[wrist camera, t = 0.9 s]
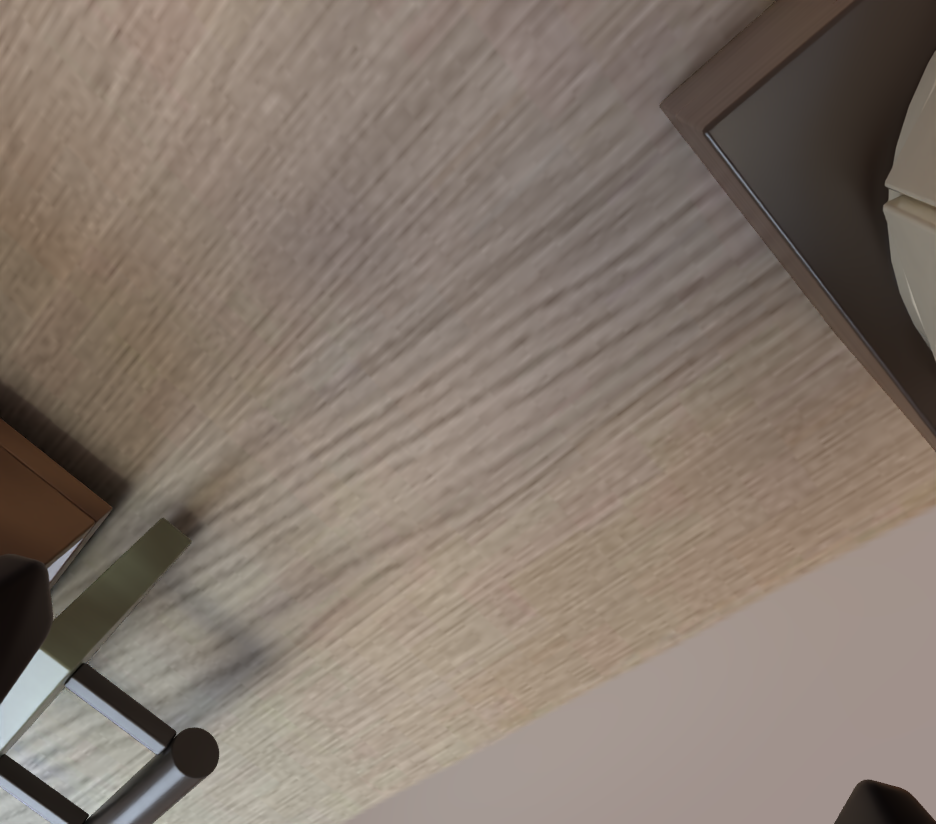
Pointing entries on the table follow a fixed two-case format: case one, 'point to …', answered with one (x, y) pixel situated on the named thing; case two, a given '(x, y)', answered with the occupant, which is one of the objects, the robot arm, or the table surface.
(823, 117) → the pedestal
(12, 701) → the drawer
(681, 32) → the table surface
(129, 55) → the table surface
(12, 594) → the robot arm
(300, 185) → the table surface
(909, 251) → the faceted cream cylinder
